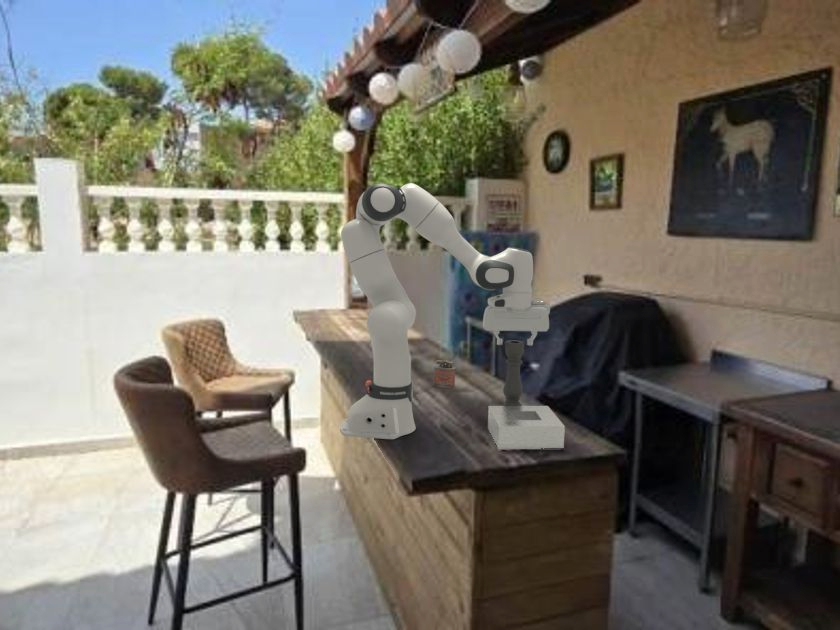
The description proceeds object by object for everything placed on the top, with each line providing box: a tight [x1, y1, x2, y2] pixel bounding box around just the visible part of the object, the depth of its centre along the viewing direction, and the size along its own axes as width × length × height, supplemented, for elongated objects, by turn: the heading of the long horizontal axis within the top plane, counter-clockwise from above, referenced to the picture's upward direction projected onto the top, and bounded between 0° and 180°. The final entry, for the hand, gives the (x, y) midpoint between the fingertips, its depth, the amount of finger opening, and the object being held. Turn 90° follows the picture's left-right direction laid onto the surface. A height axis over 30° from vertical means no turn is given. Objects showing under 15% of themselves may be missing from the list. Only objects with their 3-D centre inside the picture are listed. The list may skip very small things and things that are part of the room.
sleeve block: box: [487, 405, 566, 450], centre depth 172 cm, size 18×18×7 cm
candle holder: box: [502, 339, 525, 406], centre depth 187 cm, size 6×6×25 cm
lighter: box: [433, 359, 456, 389], centre depth 225 cm, size 8×3×10 cm, turn 74°
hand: (514, 344), depth 186 cm, fingers open, 8 cm apart
